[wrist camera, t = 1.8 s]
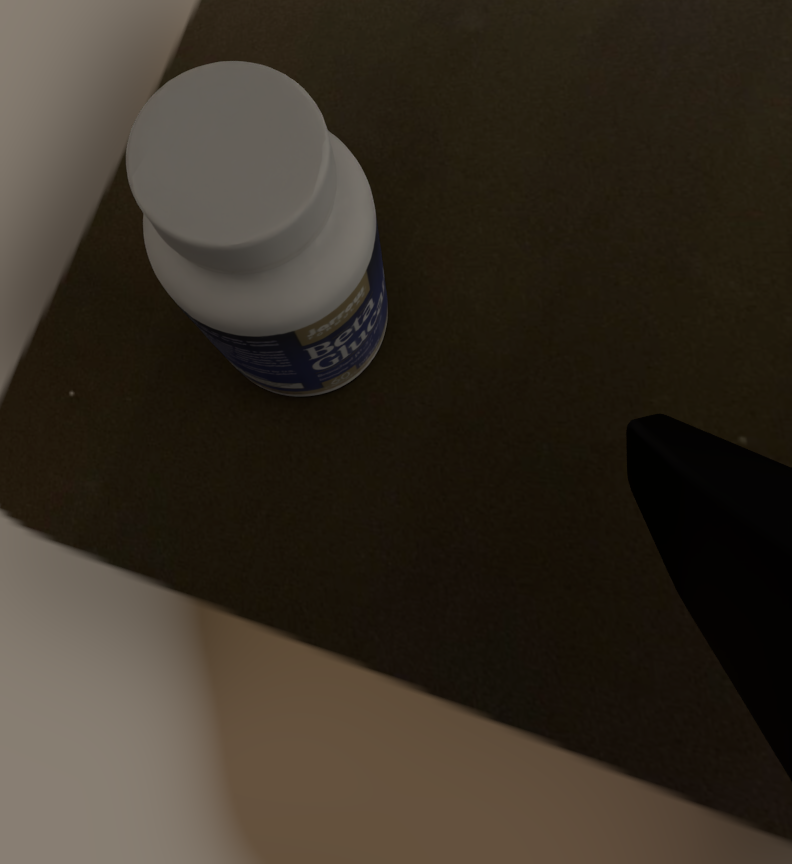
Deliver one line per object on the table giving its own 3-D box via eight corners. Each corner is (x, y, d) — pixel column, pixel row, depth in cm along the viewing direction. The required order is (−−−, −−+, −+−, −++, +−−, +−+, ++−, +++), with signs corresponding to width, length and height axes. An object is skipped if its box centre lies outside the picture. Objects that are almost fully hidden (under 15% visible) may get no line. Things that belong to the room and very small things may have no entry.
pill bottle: (351, 425, 23) (296, 326, 14) (195, 364, 24) (37, 227, 14) (415, 272, 24) (407, 75, 14) (264, 216, 24) (158, -9, 15)
